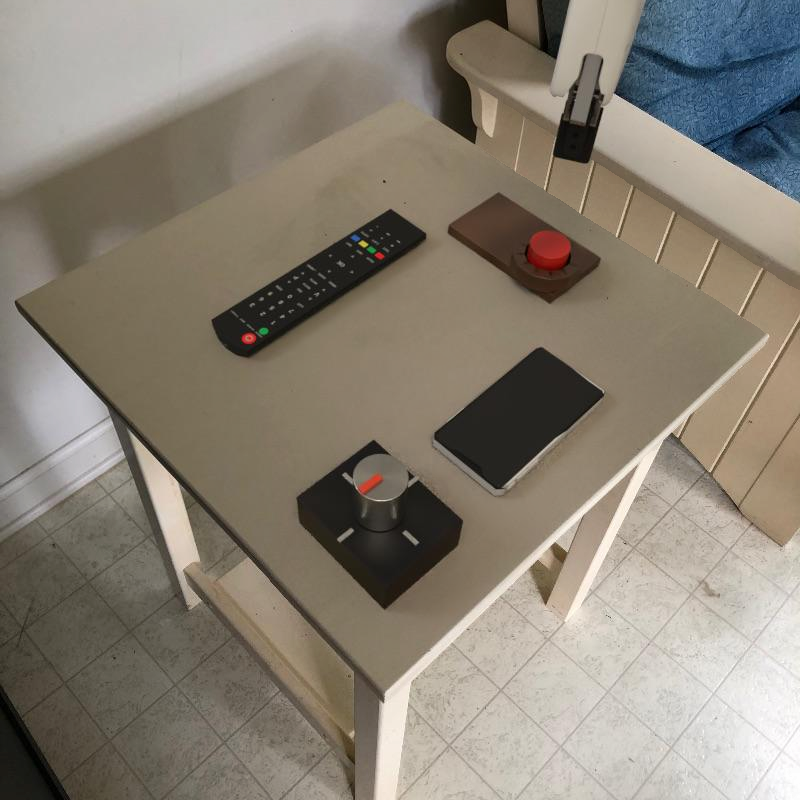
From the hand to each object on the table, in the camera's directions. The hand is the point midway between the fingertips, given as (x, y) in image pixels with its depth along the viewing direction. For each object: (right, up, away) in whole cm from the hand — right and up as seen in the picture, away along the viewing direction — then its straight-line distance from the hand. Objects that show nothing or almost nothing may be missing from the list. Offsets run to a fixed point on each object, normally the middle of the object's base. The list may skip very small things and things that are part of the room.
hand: (573, 151), depth 72 cm
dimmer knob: (-17, -30, -10) cm, 36 cm away
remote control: (-23, -10, +10) cm, 27 cm away
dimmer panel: (-17, -32, -6) cm, 37 cm away
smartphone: (-5, -24, +1) cm, 24 cm away
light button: (0, -8, +10) cm, 13 cm away
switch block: (-2, -6, +14) cm, 16 cm away
